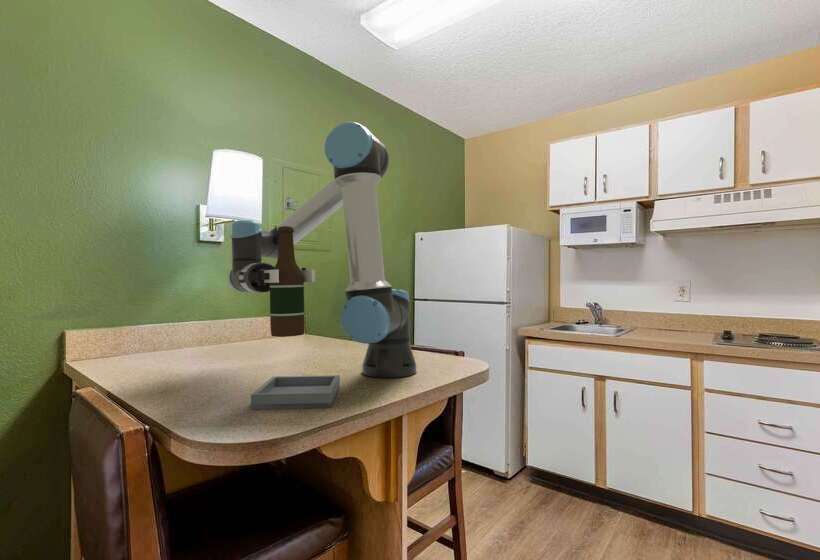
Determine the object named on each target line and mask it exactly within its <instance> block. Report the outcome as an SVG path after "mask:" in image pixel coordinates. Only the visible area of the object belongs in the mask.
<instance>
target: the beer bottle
mask: <svg viewBox="0 0 820 560" xmlns="http://www.w3.org/2000/svg"><path fill="white" fill-rule="evenodd" d="M277 232H278V233H279V243H278V258H276V259H277V261H276V264H275V265H274V269H273V270H279V283H270V291H269V315H270V316H269V317H270V321H269V322H270V336H271V337H275V338H276V337H277V338H278V337H280V338H282V337H283V338H284V337H297V336H302V335H305V320H306V319H305V318H306V317H305V284H304V283H305V282H303V275H302V273H301V270H302V269H301V268H300V266H299V265H298V264H297V261H296V257H295V247H294V246H295V245H294V244H293V232H294V229H293V227H289V226H281V227H278V231H277Z"/></svg>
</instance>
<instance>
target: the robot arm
mask: <svg viewBox="0 0 820 560" xmlns="http://www.w3.org/2000/svg"><path fill="white" fill-rule="evenodd" d="M324 154H325V157H326V159H327V160H328V162H329V163H330V164H331V165H332V166H333V175H334V176H333V177H334V178H333V179H331V180H330V181H329V182H328V183H327V184H326V185H324V186H323V187H322V188H321V189H319V190H318V191H317V192H315V194H313V195H312V196H311V197H310V198H308V199H307V200H306V201H305V202H304V203H303V204H302V205H300V206H299V207H298V208H297V209H295V210H294V211H293V212H292V213H290V214H289V215H288V216H287V217H286V218H285V219H284V220H282V221H281V222H280V223H279V224H278V225H277V226H275V227H274V228H273V229H271V230H269V231H265V230H262V229H263V228H262V226H261V225H262V223H260V222H259V221H258V220H250V219H249V220H248V219H243V220H241V219H240V220H235V221H234V222H233V223H232V224H231V235H230V237H231V255H232V256H231V257H232V261H231V266H232V267H231V270H230V272H229V273H228V283H229V285H230V287H231V288H233V290H236V291H238V292H241V293H253V294H254V295H258V293H270V283H279V270H273V269H274V267H275V265H272V264H271V263H269V262H263V260H262V258H269V259H270V258H271V259H278V243H279V233H278V232H277V231H278V227H281V226H289V227H293V229H294V232H293V244H294V246H295V245H296V244H297V243H299V242H300V241H301V240H302V239H303V238H304V237H305V238H306V236H307V235H308V234H310V233H311V232H312V231H313V230H315V229H316V228H317V227H318V226H320V225H321V224H322V223H323V222H325V221H326V220H327V219H328V218H330V217H331V216H333V214H335V213H336V212H337V211H338V210H340V209H341V208H342V207H343V215H344V224H345V237H346V246H347V257H348V258H347V259H348V267H349V268H348V270H349V279H350V283H349V285H348V286H347V287H346V289H345V301H346V303H345V304H344V305H343V307H342V309H341V313H340V322H341V327H342V329H343V331H344V333H345V334H346V335H347V336H348V337H349V338H350V339H351V340H353V341H354V342H357V343H359V344H362V345H363V344H364V345H365V344H367V349H366V352H365V356H364V359H363V362H362V365H361V366H362V369H361V373H362V374H363V375H365V376H368V377H371V378H382V379H383V378H384V379H385V378H387V379H391V378H393V379H394V378H402V377H408V376H412V375H414V374H416V373H417V362H416V360H415V356H414V353H413V351H412V347H411V337H410V335H411V333H410V332H411V328H410V327H411V326H410V323H411V321H410V320H411V319H410V309H411V307H410V306H411V301H410V295H409V294H410V293H409V292H408V291H407V290H403V289H394V288H393V287H392V285H391V284H390V282H388V281H387V280H386V277H385V267H384V266H385V265H384V257H383V246H382V237H381V236H382V235H381V227H380V215H379V204H378V195H377V185H378V184H379V182H381V180H382V179H383V177H385V175H386V173H387V171H388V168H389V165H390V163H389V162H390V156H389V151H388V149H387V147H386V146H385V144H384V143H382V141H381V140H379V139H378V138H377V137H376V136H375V135H374V134H373V133H372V132H371V131H370V130H369V129H368V128H367V127H366V126H364V125H362V124H360V123H358V122H355V121H346V122H342V123H340V124H339V123H338V124H337V125H336V126H335V127H333V128H332V130H331V131H330V132H329V133H328V134H327V137H326V138H325V142H324ZM300 270H301V273H302V275H303V282H304V283H315V282H316V269H307V268H306V267H301V269H300Z"/></svg>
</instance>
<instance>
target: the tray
mask: <svg viewBox="0 0 820 560" xmlns="http://www.w3.org/2000/svg"><path fill="white" fill-rule="evenodd" d="M340 378H341V375H340V374H337V375H336V374H335V375H334V374H333V375H290V376H289V375H287V376H286V375H283V376H279V375H278V376H274V375H273V376H272V377H270V378H269V379H268V380H267V381H265V382H264V383H263V384H262V385H261V386H260V387H259V388H257V389H256V390H255V391H254V392H253V393H251V394H250V409H251V410H286V409H287V410H288V409H289V410H291V409H295V410H296V409H324V408H325V409H330V408H332V407H333V406H332V405H333V403H334V402H335V399H336V397H337V395H338V393H339V390H340V388H341V379H340Z"/></svg>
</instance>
